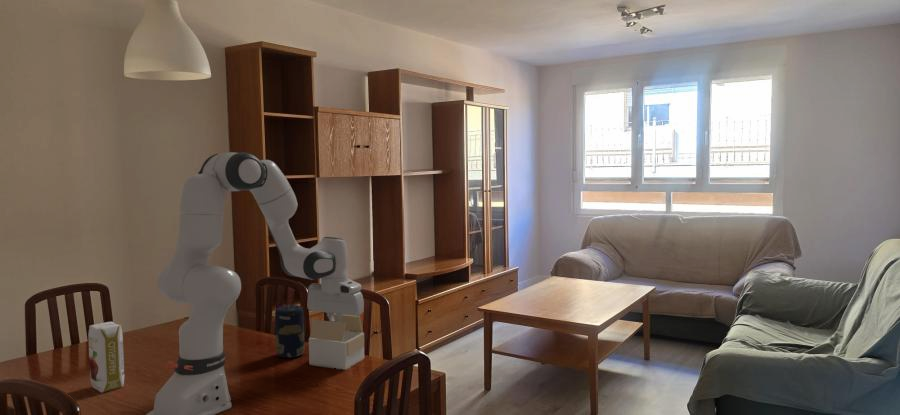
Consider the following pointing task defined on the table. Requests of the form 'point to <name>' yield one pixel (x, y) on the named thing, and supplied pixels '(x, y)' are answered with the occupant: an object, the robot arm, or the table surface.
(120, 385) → the juice carton
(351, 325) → the flap far
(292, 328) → the canister
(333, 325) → the flap near
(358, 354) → the carton
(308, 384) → the table surface
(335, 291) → the robot arm
